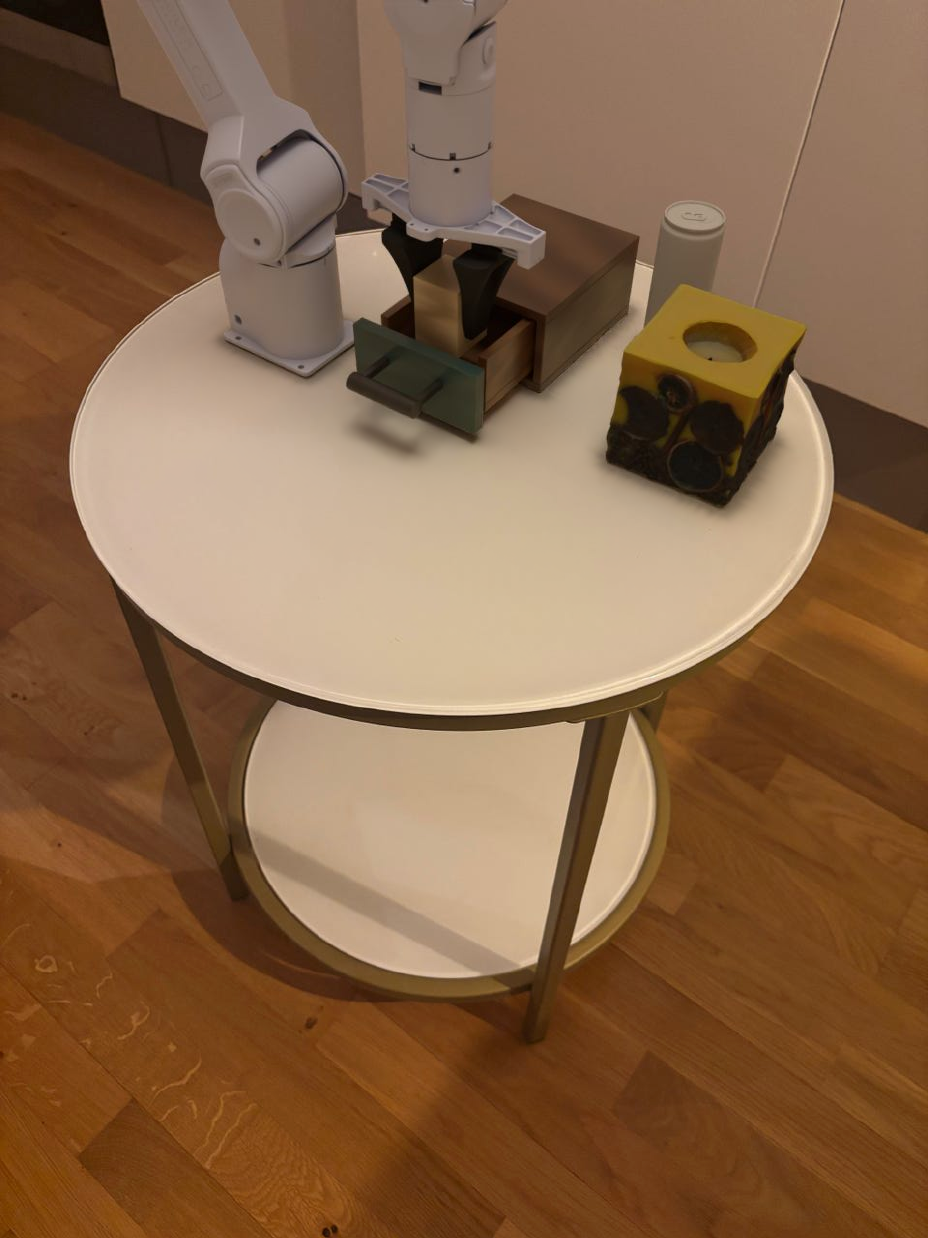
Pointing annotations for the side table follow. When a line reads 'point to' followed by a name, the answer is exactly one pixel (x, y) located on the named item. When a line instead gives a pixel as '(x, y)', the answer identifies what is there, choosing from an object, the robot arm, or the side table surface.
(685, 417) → the candle
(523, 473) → the side table surface
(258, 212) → the robot arm
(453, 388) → the drawer
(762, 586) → the side table surface
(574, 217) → the cabinet
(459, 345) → the block
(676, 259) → the beverage can
